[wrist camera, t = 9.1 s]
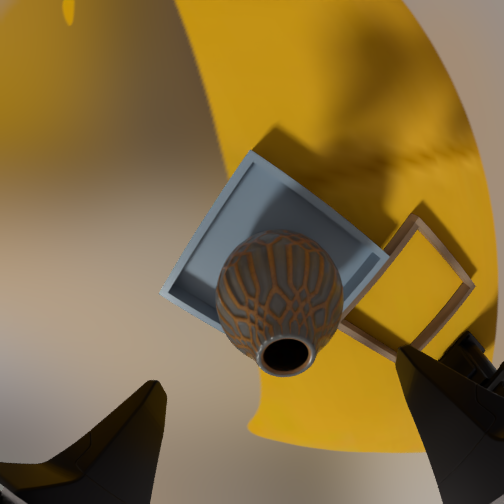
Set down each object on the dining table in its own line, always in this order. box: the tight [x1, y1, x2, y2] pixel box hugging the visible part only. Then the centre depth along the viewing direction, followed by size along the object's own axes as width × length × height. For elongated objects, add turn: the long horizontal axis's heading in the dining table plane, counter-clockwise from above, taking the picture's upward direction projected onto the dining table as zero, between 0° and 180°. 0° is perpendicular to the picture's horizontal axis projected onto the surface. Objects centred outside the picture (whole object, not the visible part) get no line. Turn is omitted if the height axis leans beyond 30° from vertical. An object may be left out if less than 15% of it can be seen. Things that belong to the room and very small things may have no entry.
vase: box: [216, 229, 344, 377], centre depth 14 cm, size 7×7×9 cm
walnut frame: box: [337, 213, 475, 363], centre depth 19 cm, size 10×10×1 cm
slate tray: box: [159, 150, 390, 333], centre depth 18 cm, size 11×11×2 cm
